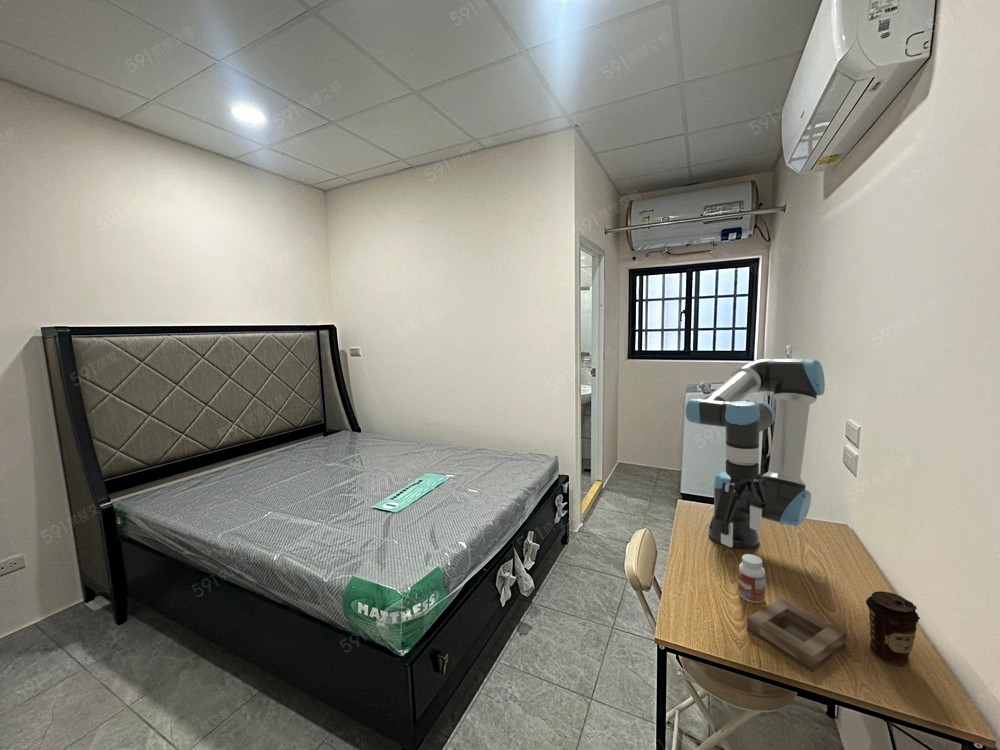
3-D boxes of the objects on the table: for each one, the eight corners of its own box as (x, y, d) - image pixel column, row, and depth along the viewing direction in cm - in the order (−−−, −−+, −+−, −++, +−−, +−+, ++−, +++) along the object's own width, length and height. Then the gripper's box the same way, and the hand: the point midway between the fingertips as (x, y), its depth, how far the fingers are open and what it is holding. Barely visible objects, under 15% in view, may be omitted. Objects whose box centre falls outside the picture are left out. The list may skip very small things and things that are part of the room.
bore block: (780, 610, 105) (781, 597, 105) (845, 646, 93) (846, 632, 92) (747, 630, 99) (747, 617, 99) (811, 671, 87) (812, 656, 86)
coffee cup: (928, 665, 87) (931, 609, 85) (901, 677, 84) (904, 619, 83) (880, 637, 95) (882, 585, 94) (854, 646, 93) (856, 593, 91)
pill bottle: (733, 591, 114) (733, 554, 113) (752, 588, 115) (752, 551, 114) (750, 606, 108) (750, 566, 106) (770, 602, 109) (771, 563, 107)
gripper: (753, 448, 116) (752, 518, 119) (699, 467, 104) (699, 545, 106) (782, 454, 110) (781, 528, 112) (728, 475, 97) (728, 558, 100)
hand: (741, 537), depth 109 cm, fingers open, 13 cm apart
